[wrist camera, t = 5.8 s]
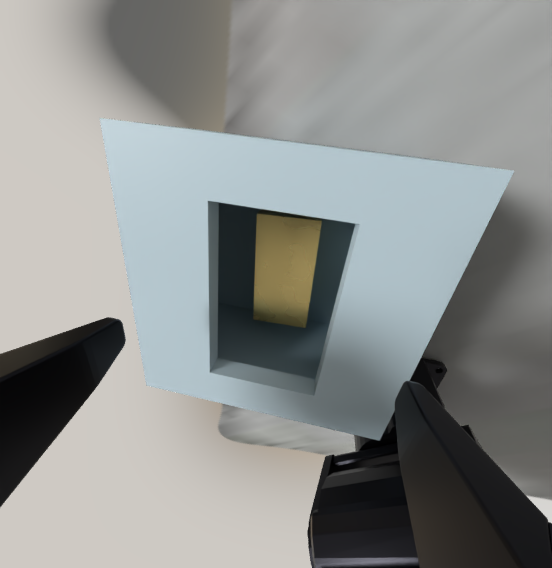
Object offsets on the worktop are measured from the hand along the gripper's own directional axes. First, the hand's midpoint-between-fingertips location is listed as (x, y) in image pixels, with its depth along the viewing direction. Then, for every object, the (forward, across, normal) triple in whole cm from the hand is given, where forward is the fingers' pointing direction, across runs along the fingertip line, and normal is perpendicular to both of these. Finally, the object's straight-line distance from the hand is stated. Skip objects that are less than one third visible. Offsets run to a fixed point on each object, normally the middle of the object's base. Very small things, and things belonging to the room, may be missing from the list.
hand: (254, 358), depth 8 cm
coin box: (+10, 0, 0) cm, 10 cm away
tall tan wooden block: (+10, 0, 0) cm, 10 cm away
